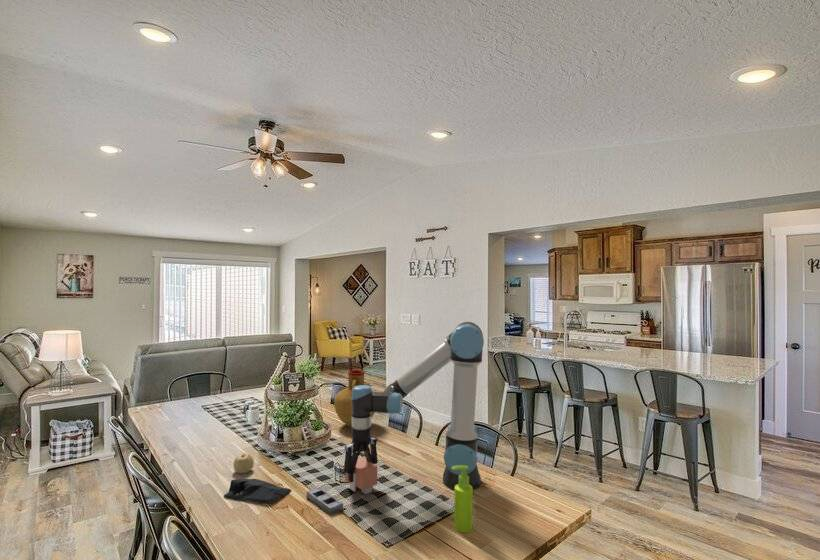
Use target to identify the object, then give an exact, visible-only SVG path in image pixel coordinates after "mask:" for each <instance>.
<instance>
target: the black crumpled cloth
mask: <svg viewBox="0 0 820 560" xmlns="http://www.w3.org/2000/svg"><path fill="white" fill-rule="evenodd" d="M229 485H230V486H229V489H228V492H226V493H225V494H224V495H223V497H224V498H231V499H234V500H239V501H249V502H253V503H260V504H262V503H263V504H271V503H273V502H274V501H276V500H278V499H280V498H282V497H284V496H287V495H288V494H290V492H291V491H292V489H290V488H287V487H282V486H278V485H276V484H274V483H271V482H267V481H265V480H261V479H257V478H244V477H243V478H237V479H236V478H235V479H231V481H230V484H229Z"/></svg>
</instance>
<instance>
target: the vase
mask: <svg viewBox="0 0 820 560" xmlns="http://www.w3.org/2000/svg"><path fill="white" fill-rule="evenodd" d="M365 373H366V372H365V371H364V370H361V369H359V370H358V369H355V370H349V371H347V375H348V387H345V388H343V389H342V390H340V391H339V392H337V394H335V396H334V399H333V402H334V403H333V405H334V408H335V413H336V415H337V417H338V419H339V420H340V421H341V422H342V423H343V424H344V425H346V426H347V428H350V429H352V400H351V398H352V389H353V388H354V387H355V386H359V385H365ZM372 392H374V391H373V390H372ZM375 414H376V412H371V419H372V418H373V417H374V415H375Z"/></svg>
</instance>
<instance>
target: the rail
mask: <svg viewBox="0 0 820 560" xmlns="http://www.w3.org/2000/svg"><path fill="white" fill-rule="evenodd" d="M306 499H308V500H310V501H311V502H312V503H313V504H314V505H317V506H318V507H319V508H320V509H321V510H323V511H324V512H326V513H327V514H329V515H334V514H336V513H338V512H341V511H344V502H342V501H341V500H339V499H337V498H336V497H335V496H333V495H332V494H331V493H329V492H327V490H324V489H323V488H321V487H320V486H318V487H315V488H312V489H310V490H306Z"/></svg>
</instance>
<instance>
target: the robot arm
mask: <svg viewBox="0 0 820 560" xmlns="http://www.w3.org/2000/svg"><path fill="white" fill-rule="evenodd" d="M484 342H485V340H484V333H483V331H482V330H481V327H479V325H478V324H476V323H474V322H471V321H465V322H461V323H459V324H458V325H457V326H455V328H454V329H453V331H451V333H450V334H448V335H447V336H446V337H445V338H444V342H443V343H441V344H440V345H438V346H437V347H436V348H435V349H433V350H432V351H431V352H430V353H429V354H427V355H426V356H425V357H423V358H422V359H421V360H420V361H419V362H417V363H416V364H415V365H413V366H412V367H411V368H410V369H408V370H407V371H405V373H403V374H402V375H400V376H399V378H397V379H396V380H394V381H393V382H391V383H390V384H388V386H386V388H385V390H384V391H379V392H378V391H377V392H376V391H373V390H372V387H371V386H370V385H365V384H364V385H359V386H355V387H354V388H353V389H352V398H351V400H352V428H351V433H350V435H351V440H352V441H351V442H350V444H349V445H345V446H344V450H345V453H344V454H345V455H344V465H343V472H344V473H345V472H346V473H348V477H349V478H348V480H349V482H348V483H349V489H350V490H351V491H353V492H356V491H357V490H356V489H357V487H356V473H354V471H355V467H356V464H357V460H358V458H359V457H360V455H361V453H362V452H363V453H364V456H365V460H367V461H369V462H371V463H373V464H375V465H377V464H378V461H379V460H378V451H377V443H378V442H377V441H378V440H377V438H375V437H372V427H371V426H372V418H371V412H375V413H378V414H379V413H381V414H390V415H392V414H400V413H401V412H402V410H403V405H404V404H403V403H404V399H405V398H406V397H407V396H408V395H409V394H410V393H412V392H414V390H416V389H418V387H420V386H421V385H422V384H424V383H425V382H426V381H427V380H429V379H430V378H431V377H432V376H434V375H435V374H436V373H438V372H439V371H440V370H442V369H443V368H444V367H446V366H447V365H448V364H449V363H451V362H452V364H453V376H452V377H453V379H452V395H451V396H452V397H451V413H450V424H448V426H447V430H446V432H445V449H444V450H445V451H444V454H443V461H444V465H445V468H444V471H443V474H442V482H443V484H444V485H445V486H446V487H447V488H450V489H451V490H455V485H457V484H459V475H461V469H459V470H453V469H452V466H456V465H467V466H468V468H469V470H467V471H466V475H468V476H469V485H471V486H472V487H473V490H477V488H480V487H481V483H482V482H481V481H482V478H481V474H480V470H479V466H478V464H477V463H478V437H479V435H478V429H477V428H478V427H477V425H475V419H476V418H475V416H476V396H477V381H478V366H479V365H480V364H482V362H483V352H484V351H483V348H484V344H485V343H484ZM372 391H373V392H372Z"/></svg>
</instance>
